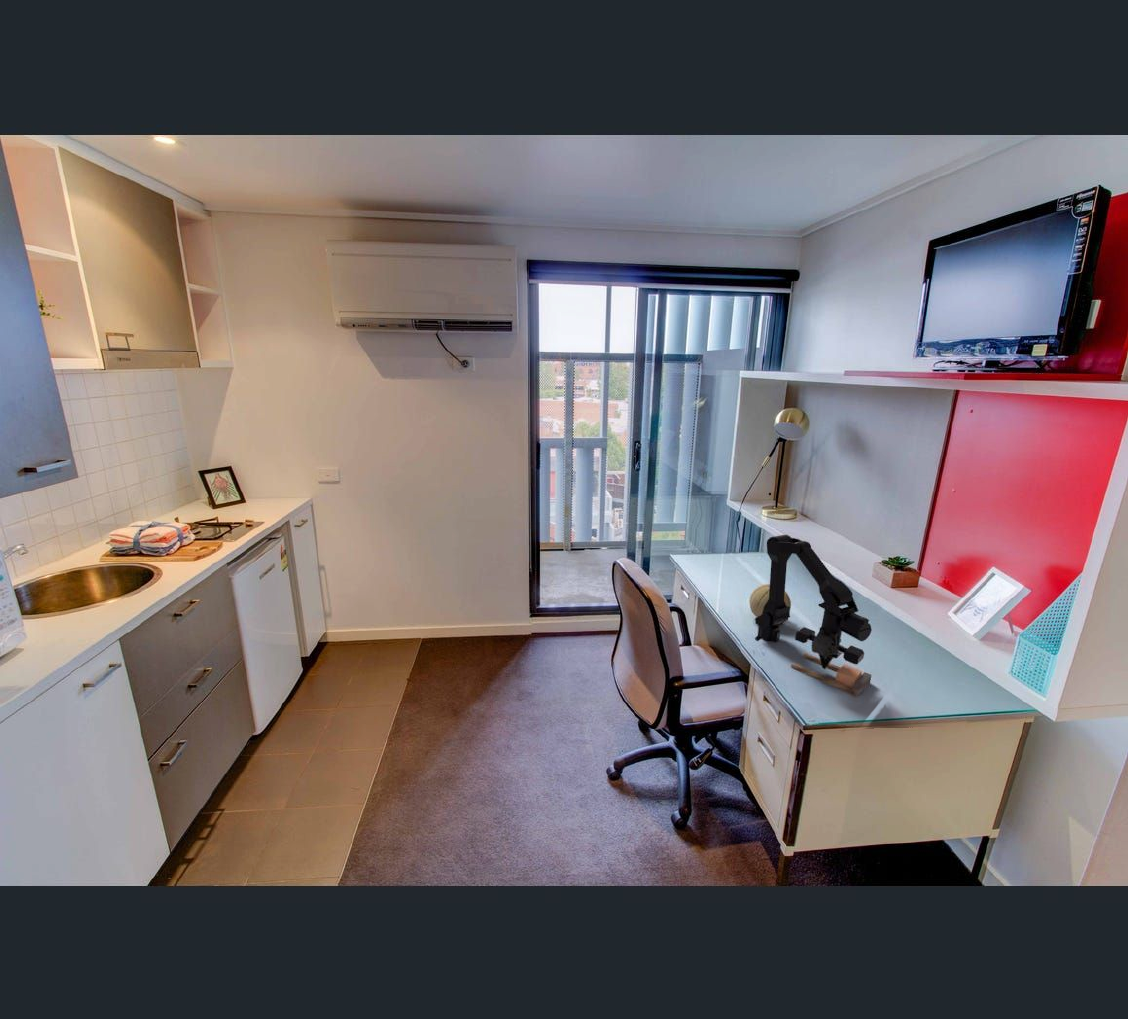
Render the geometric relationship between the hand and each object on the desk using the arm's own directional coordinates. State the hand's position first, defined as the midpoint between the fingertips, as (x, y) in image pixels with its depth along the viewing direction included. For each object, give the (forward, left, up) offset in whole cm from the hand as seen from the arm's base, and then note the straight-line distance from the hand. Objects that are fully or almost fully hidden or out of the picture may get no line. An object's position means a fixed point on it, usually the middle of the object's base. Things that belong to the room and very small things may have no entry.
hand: (824, 668), depth 157 cm
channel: (+2, 0, -3) cm, 3 cm away
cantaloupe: (-29, +21, -3) cm, 36 cm away
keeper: (+7, 0, -1) cm, 7 cm away
